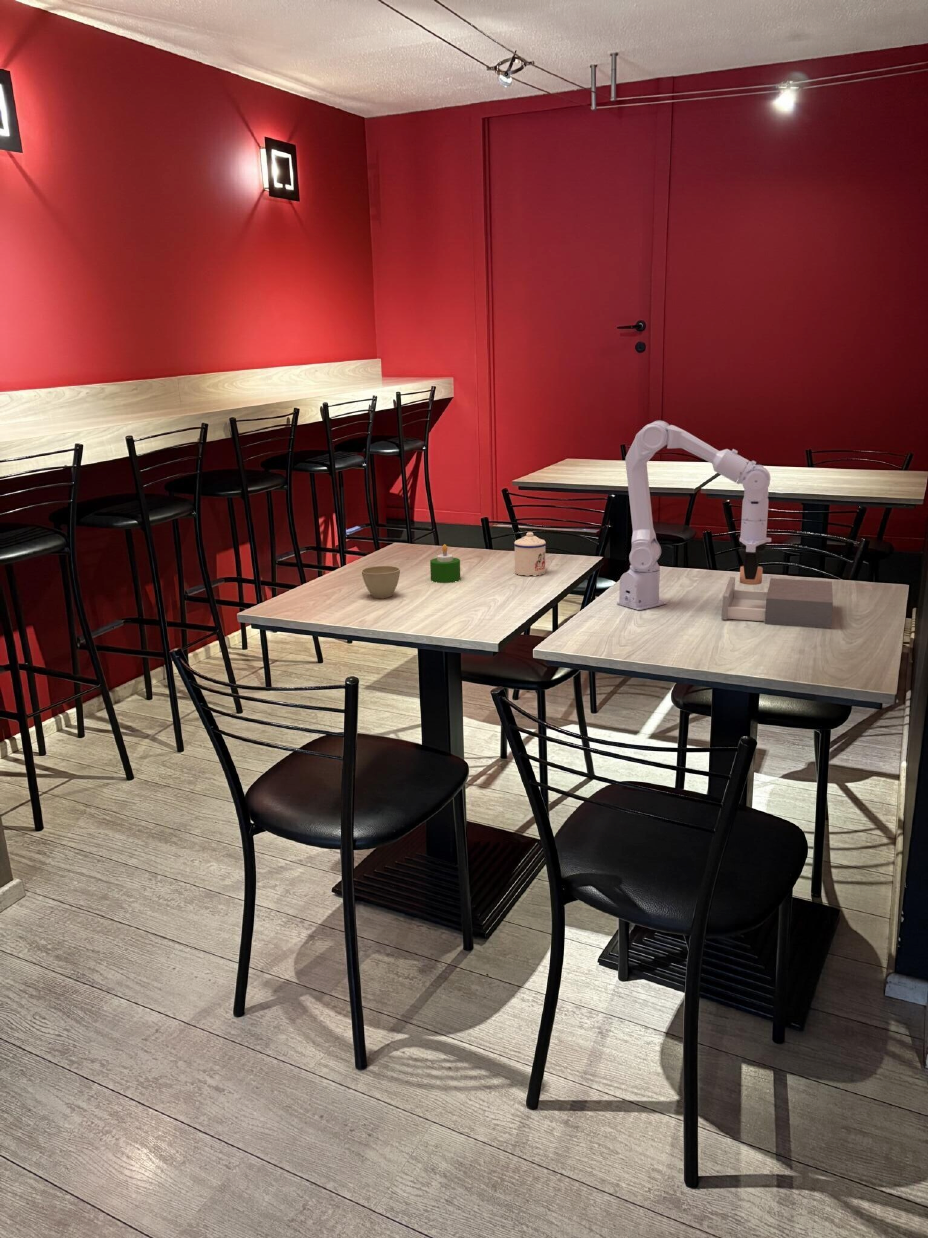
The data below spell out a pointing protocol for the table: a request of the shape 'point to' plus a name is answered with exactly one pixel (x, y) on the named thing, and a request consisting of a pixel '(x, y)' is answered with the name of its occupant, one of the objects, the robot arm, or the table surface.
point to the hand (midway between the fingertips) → (750, 576)
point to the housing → (799, 603)
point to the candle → (445, 568)
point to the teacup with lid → (529, 555)
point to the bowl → (381, 580)
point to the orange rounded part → (749, 581)
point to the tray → (743, 603)
